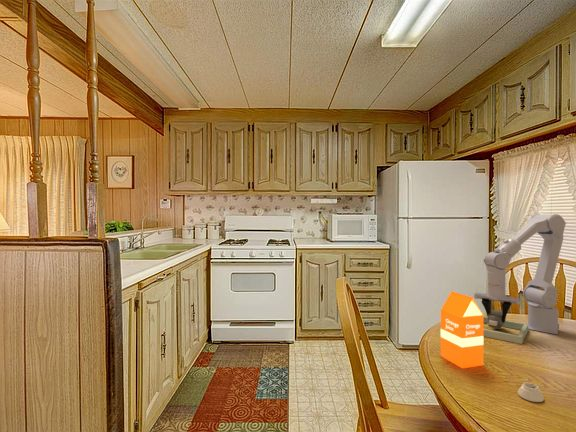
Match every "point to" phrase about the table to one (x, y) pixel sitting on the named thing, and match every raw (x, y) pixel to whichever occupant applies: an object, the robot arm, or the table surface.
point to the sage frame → (506, 336)
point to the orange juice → (462, 331)
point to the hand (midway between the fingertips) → (496, 320)
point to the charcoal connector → (495, 319)
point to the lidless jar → (530, 392)
